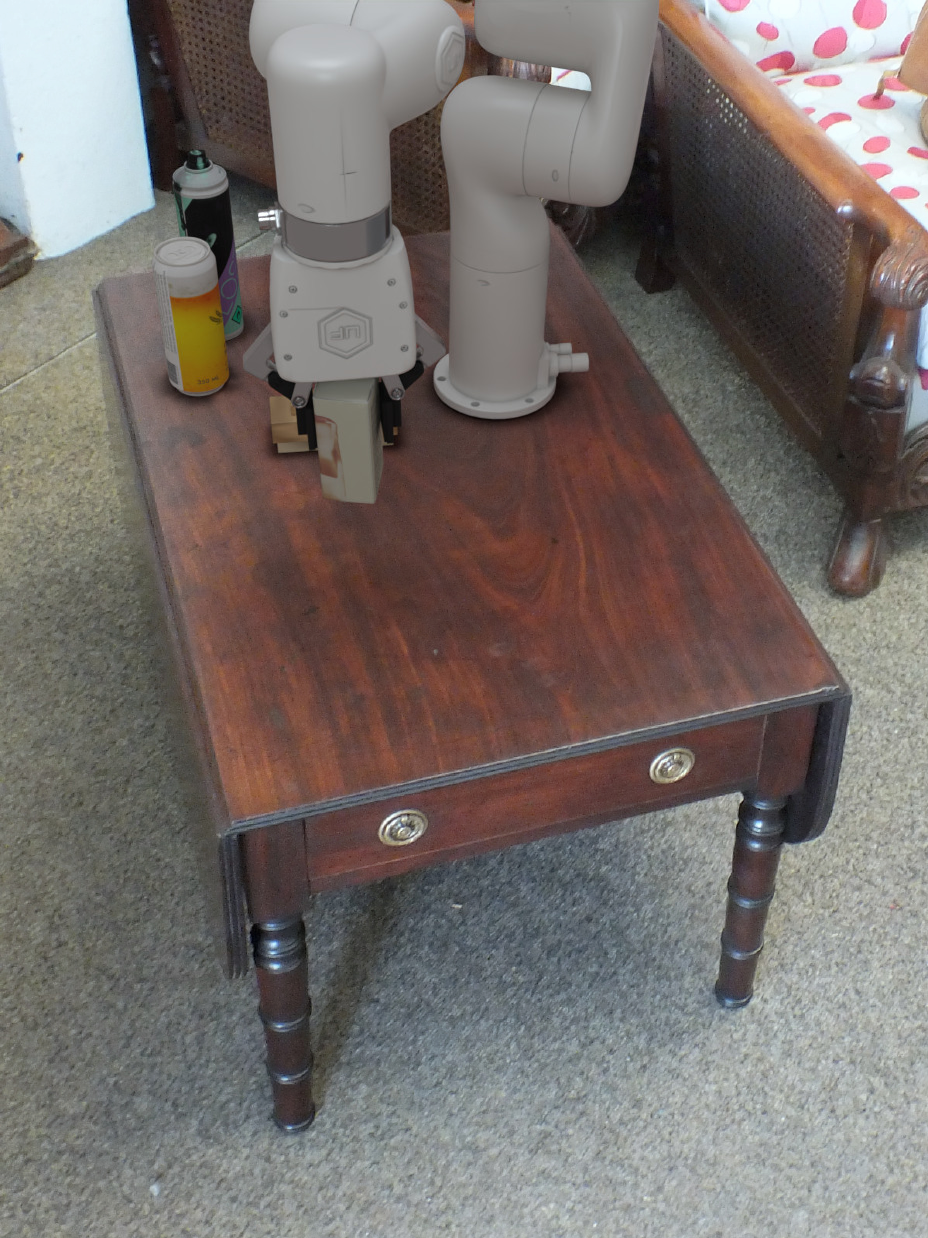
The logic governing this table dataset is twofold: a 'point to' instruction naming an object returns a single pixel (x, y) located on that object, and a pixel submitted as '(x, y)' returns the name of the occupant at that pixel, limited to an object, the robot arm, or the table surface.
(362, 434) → the white box
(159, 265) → the beer can
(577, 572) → the table surface
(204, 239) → the spray can
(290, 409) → the tan rectangular block
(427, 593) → the table surface
